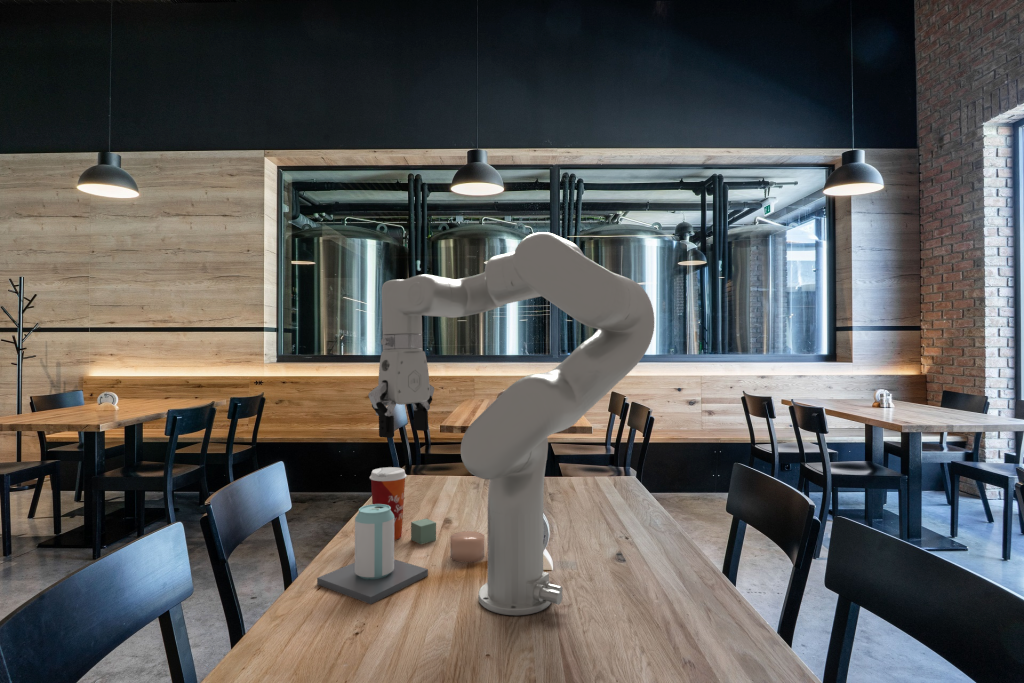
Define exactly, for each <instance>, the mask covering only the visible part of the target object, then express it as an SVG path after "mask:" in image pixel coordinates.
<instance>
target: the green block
mask: <svg viewBox="0 0 1024 683" xmlns="http://www.w3.org/2000/svg"><path fill="white" fill-rule="evenodd" d="M410 540H412V542H415V543H417V544H419V545H423V544H427V543H431V542H435V541H437V522H436V521H433V520H432V519H431V520H430V519H428V518H427V517H426V518H422V519H418V520H413V521H411V522H410Z"/></svg>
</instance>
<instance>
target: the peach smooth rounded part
mask: <svg viewBox="0 0 1024 683" xmlns="http://www.w3.org/2000/svg"><path fill="white" fill-rule="evenodd" d="M485 538H486V537H485V534H483V533H482V532H480V531H471V530H470V531H469V530H467V531H466V530H464V531H460V532H455V533H453V534H452V535H450V538H449V539H450V545H449V548H450V551H449V553H450V556H449V557H450V559H451V560H453V561H454V562H459V563H474V562H479V561H481V560H482V559H484V557H485V548H486V547H485Z"/></svg>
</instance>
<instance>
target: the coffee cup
mask: <svg viewBox="0 0 1024 683" xmlns="http://www.w3.org/2000/svg"><path fill="white" fill-rule="evenodd" d="M406 478H407V474H406V471H405V469H404V468H401V467H398V466H397V467H394V466H393V467H392V466H388V467H379V468H375V469H372V471H371V474H370V476H369V480H370V481H371V482H370V483H371V501H372V503H371V504H385V505H389V506H390V507H391V511H392V513H393V514H394V541H397V540H398V539H401V538H402V533H403V522H404V521H403V520H404V506H405V505H404V504H405V502H404V501H405V485H406V483H405V482H406Z"/></svg>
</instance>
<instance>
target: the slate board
mask: <svg viewBox="0 0 1024 683" xmlns="http://www.w3.org/2000/svg"><path fill="white" fill-rule="evenodd" d="M428 576H429V569H428V568H426V567H422V566H419V565H415V564H412V563H409V562H405V561H402V560H398V559H395V558H394V570H393V571H392V572H391V573H390V574H388V575H387V576H386V577H383V578H380V579H372V580H370V579H363V578H361V577H360V576H358V575H357V574H356V573H355V562H352V563H350V564H348V565H346V566H342V567H340V568H338V569H335V570H333V571H330V572H328V573H326V574H323V575H320V576H318V577H316V582H317V583H316V585H318V586H321V587H323V588H325V589H328V590H331V591H334V592H336V593H340V594H342V595H345V596H347V597H350V598H353V599H355V600H359V601H360V602H361V601H362V602H364V603H367V604H369V605H373V604H374V603H377V602H378V601H381V600H382V599H384V598H386V597H388V596H390V595H392V594H395V593H396V592H398V591H400V590H402V589H404V588H406V587H408V586H410V585H412V584H414V583H416V582H418V581H420V580H423V579H424V578H426V577H428Z"/></svg>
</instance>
